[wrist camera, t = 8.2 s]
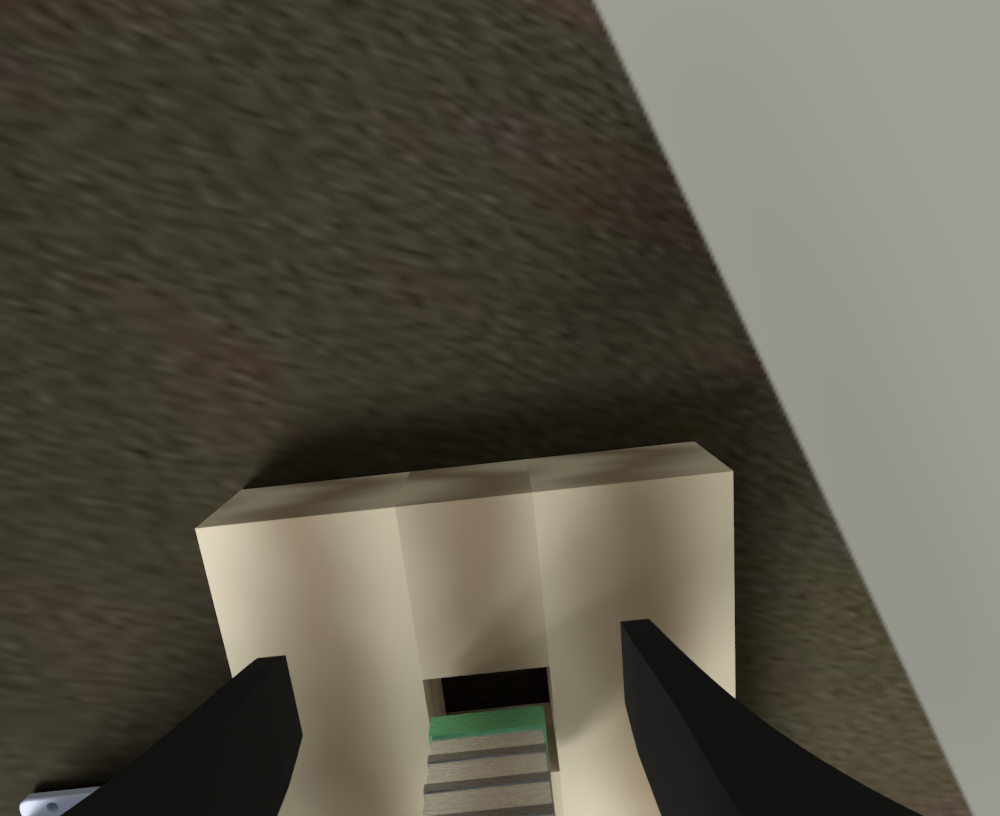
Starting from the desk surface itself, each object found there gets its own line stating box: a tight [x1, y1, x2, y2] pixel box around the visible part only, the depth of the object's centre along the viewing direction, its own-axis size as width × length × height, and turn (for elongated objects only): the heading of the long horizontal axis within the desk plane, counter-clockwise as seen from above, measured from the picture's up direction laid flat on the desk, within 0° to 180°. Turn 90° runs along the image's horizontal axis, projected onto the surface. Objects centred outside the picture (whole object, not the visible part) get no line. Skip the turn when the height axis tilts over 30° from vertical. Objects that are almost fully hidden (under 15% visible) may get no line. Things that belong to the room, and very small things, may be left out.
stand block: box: [195, 441, 735, 816], centre depth 21 cm, size 18×18×4 cm
